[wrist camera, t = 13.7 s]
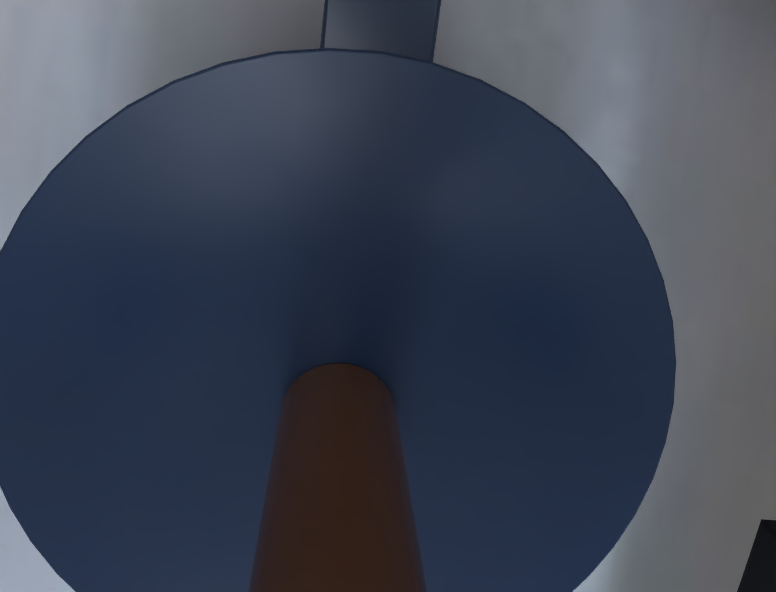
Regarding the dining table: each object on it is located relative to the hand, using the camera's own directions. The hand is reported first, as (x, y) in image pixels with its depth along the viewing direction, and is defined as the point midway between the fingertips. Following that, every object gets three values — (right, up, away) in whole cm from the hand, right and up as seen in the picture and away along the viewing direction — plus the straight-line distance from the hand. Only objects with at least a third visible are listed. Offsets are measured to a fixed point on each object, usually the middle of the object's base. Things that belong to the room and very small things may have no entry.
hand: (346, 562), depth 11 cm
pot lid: (0, +2, +5) cm, 6 cm away
